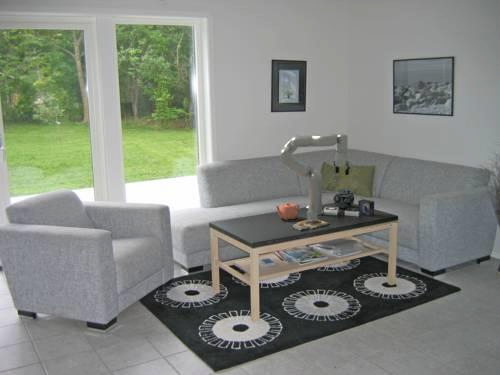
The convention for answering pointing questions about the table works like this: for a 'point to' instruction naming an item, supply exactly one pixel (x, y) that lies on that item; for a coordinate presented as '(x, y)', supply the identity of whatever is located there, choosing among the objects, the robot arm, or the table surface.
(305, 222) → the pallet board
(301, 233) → the table surface
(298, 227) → the button housing
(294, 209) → the teapot
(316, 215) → the metal billet
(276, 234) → the table surface
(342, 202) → the decorative stone
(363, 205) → the small box
